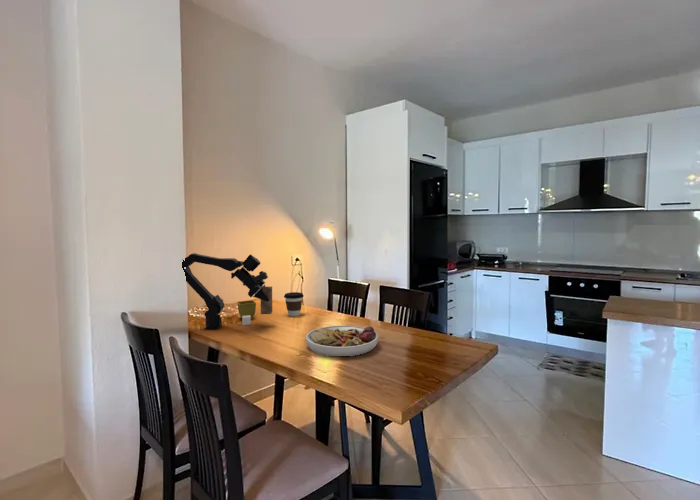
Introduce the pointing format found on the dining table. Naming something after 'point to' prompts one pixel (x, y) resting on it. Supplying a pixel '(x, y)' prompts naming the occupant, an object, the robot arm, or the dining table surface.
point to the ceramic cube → (246, 320)
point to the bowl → (342, 340)
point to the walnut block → (266, 306)
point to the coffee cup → (293, 303)
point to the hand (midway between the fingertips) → (269, 299)
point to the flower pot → (246, 308)
